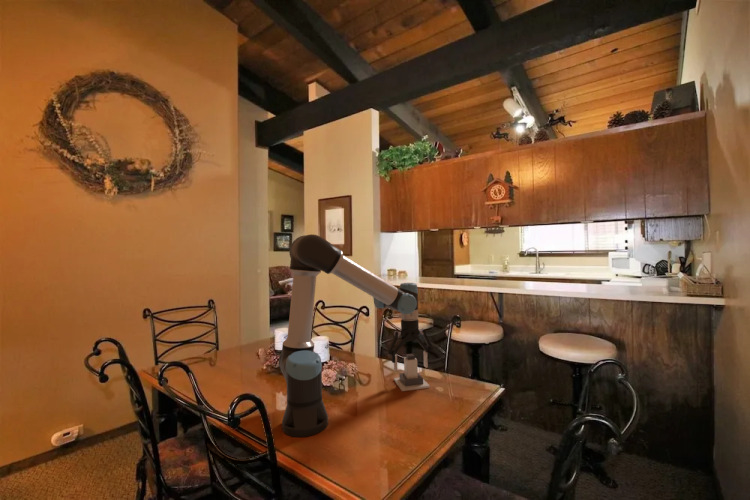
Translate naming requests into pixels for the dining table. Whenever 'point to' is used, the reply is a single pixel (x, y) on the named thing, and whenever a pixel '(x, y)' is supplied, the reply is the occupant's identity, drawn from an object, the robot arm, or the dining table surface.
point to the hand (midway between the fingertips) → (410, 368)
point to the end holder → (411, 383)
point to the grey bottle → (410, 366)
